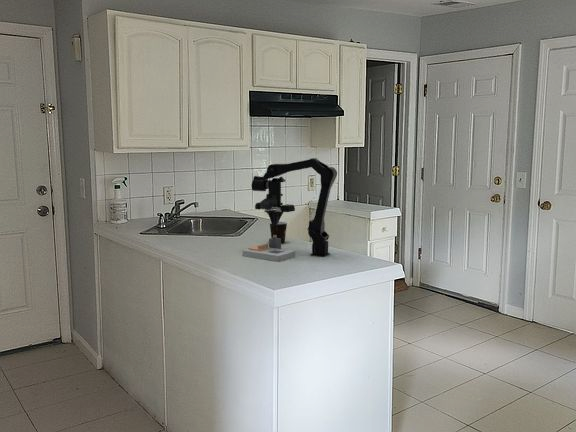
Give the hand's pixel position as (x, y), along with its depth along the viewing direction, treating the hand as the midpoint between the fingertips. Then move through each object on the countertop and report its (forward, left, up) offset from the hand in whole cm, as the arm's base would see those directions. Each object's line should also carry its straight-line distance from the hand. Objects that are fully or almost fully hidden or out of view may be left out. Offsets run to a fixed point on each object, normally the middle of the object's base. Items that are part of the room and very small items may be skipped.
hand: (274, 225), depth 254 cm
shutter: (+2, +9, -9) cm, 14 cm away
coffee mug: (+11, -17, -12) cm, 23 cm away
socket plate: (-4, +9, -12) cm, 16 cm away
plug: (0, -1, -12) cm, 12 cm away
